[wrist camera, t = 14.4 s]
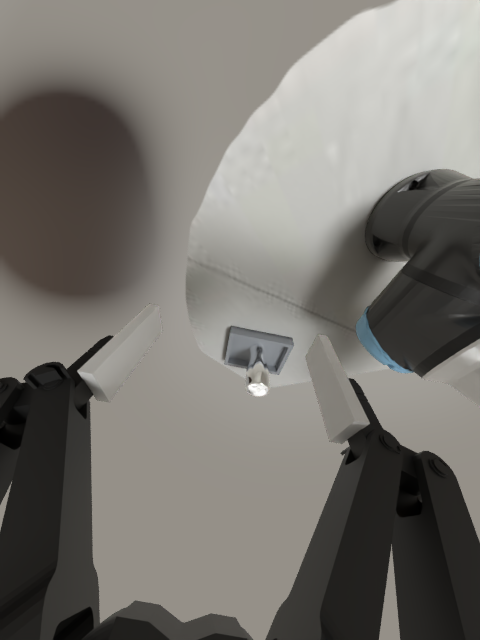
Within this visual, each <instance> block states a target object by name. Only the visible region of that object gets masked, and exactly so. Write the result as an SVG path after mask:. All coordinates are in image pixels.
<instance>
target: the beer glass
mask: <svg viewBox="0 0 480 640" xmlns="http://www.w3.org/2000/svg"><path fill="white" fill-rule="evenodd" d="M249 354H250V360H249V363H248V367H247V371H246V389H245V390H246V392H247V393H248V394H249V395H251V396H254V397H262V396H266V395H267V394H268V393H269V391H270V375H269V369H268V365H267V361H266V354H267V349H266V347H265V346H263V345H261V344H255V345H252V346H251V347H250V349H249Z"/></svg>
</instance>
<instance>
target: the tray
mask: <svg viewBox="0 0 480 640" xmlns="http://www.w3.org/2000/svg"><path fill="white" fill-rule="evenodd" d="M255 344H261V345H263V346H265V347H266V349H267V354H266V361H267V365H268V369H269V373H271V374H277V375H279V374H280V372H281V370H282V368H283V366H284V364H285V362H286V360H287V358H288V356H289V354H290V352H291V350H292V348H293V346H294V344H293V340H292V338H289V337H284V336H279V335H274V334H269V333H264V332H259V331H254V330H249V329H244V328H239V327H234V326H231V330H230V335H229V341H228V346H227V352H226V357H225V363H224V364H225V365H230V366H235V367H241V368H246V369H247V367H248V363H249V360H250V354H249V349H250V347H251V346H252V345H255Z"/></svg>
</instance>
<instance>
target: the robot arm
mask: <svg viewBox="0 0 480 640" xmlns="http://www.w3.org/2000/svg"><path fill="white" fill-rule="evenodd" d="M365 238H366V244H367V246H368V248H369V250H370V251H371V252H372V253H373V254H374V255H376V256H377V257H379V258H382V259H384V260H387V261H393V262H403V261H408V262H407V263H406V265H405V266H404V267H403V268H402V269H401V270H400V271H399V272H398V274H397V275H396V276H395V277H394V278H393V280H392V281H391V282H390V283H389V284H388V285H387V287H386V288H385V289H384V290H383V291H382V292H381V293H380V295H379V296H378V297H377V298H376V299H375V300H374V301H373V303H372V304H371V305H370V306H368V307H367V308H366V309H365V312H364V314H363V315H362V316H361V318H360V319H359V320H358V322H357V324H356V334H357V336H358V339H359V340H360V342H361V344H362V345H363V346H364V347H365V349H366V350H367V351H368V352H369V353H370V354H371V355H372V356H373V357H374V358H375V359H377V360H378V361H379V362H381V363H382V364H383V365H388V367H389V368H390V369H392V370H394V371H397V372H400V373H413V372H415V373H416V374H418V375H419V376H420V377H421V378H423V379H424V380H428V381H435V382H442V383H445V384H448V385H450V386H451V387H453V388H454V389H455V390H457V391H458V392H459V393H461V394H462V395H463V396H465V397H466V398H467V399H469V400H470V401H471V402H473V403H474V404H475V405H477V406H478V407H479V408H480V178H479V179H473V178H470V177H468V176H466V175H463V174H461V173H459V172H457V171H454V170H449V169H437V170H431V171H425V172H421V173H418V174H415V175H413V176H410V177H408V178H407V179H405V180H403V181H401V182H400V183H398V184H397V185H396V186H394V187H393V188H392V189H391V190H390V191H389V192H388V193H387V194H386V195H385V196H384V197H383V198H382V199H381V200H380V201H379V203H378V204H377V205H376V207H375V208H374V210H373V212H372V214H371V216H370V218H369V220H368V223H367V227H366V233H365ZM162 331H163V329H162V323H161V316H160V310H159V305H156V304H150V303H149V304H148V305H147V306H146V307H145V308H144V309H143V310H142V311H141V312H140V313H139V314H138V315H137V316H136V317H134V318H133V319H132V320H131V321H130V322H129V323H128V324H127V325H126V326H125V327H124V328H123V329H122V330H120V331H119V332H118V333H117V334H116V335H115V336H107V337H105V338H103V339H101V340H100V341H98V342H97V343H96V344H95V345H94V346H93V347H92V348H90V349H89V350H88V352H86V353H85V354H84V355H82V356H81V357H80V358H79V359H78V360H77V361H76V362H74V363H73V364H72V365H71V366H70V367H69V368H68V369H66V368H65V367H64V366H63V364H61V363H59V362H50V363H45V364H43V365H40V366H38V367H36V368H34V369H32V370H31V371H30V372H29V373H27V374H26V376H25V377H24V380H25V381H26V383H20V382H19V381H18V380H17V379H15V378H12V377H8V378H2V379H0V504H1V502H2V500H3V498H4V496H5V494H6V492H7V490H8V488H9V486H10V484H11V482H12V484H11V489H10V493H9V497H8V501H7V505H6V510H5V514H4V518H3V522H2V527H1V531H0V640H253V639H252V638H251V636H250V635H249V634H248V633H247V632H246V631H245V630H244V629H243V628H242V627H241V626H240V625H239V623H238V621H237V619H236V618H233V617H227V616H222V615H217V614H209V615H206V616H203V617H200V618H197V619H194V620H191V621H189V622H185V623H183V622H181V621H179V620H178V619H177V618H176V617H174V616H173V615H172V614H171V613H169V612H168V611H167V610H166V609H164V608H163V607H162V606H161V605H157V604H152V603H146V602H140V601H134V602H133V603H132V604H131V605H130V606H128V607H127V608H123V609H121V610H120V611H118V612H116V613H114V614H112V615H111V616H110V617H108V618H107V619H106V620H104V621H103V622H102V623H100V617H99V586H98V577H97V572H96V570H95V568H94V565H93V557H92V501H91V500H92V495H91V436H90V435H91V434H90V433H91V432H90V402H89V399H90V398H91V397H92V396H93V395H94V397H95V398H96V400H99V401H105V402H110V401H111V400H112V399H113V397H114V396H115V394H116V393H117V392H118V391H119V389H120V388H121V387H122V385H123V384H124V383H125V381H126V380H127V379H128V377H129V376H130V374H131V373H132V372H133V370H134V369H135V368H136V366H137V365H138V364H139V362H140V361H141V360H142V358H143V357H144V356H145V354H146V353H147V351H148V350H149V349H150V348H151V346H152V345H153V344H154V342H155V341H156V339H157V338H158V337H159V335H160V334H161V333H162ZM305 357H306V361H307V364H308V368H309V371H310V375H311V378H312V382H313V386H314V389H315V393H316V396H317V399H318V403H319V406H320V410H321V414H322V417H323V421H324V424H325V428H326V432H327V435H328V439H329V442H335V443H341V444H342V443H344V442H345V441H346V440H348V442H349V445H350V446H349V447H348V448H346V449H345V450H343V451H342V452H341V454H342V455H343V454H345V456H344V459H343V461H342V463H341V466H340V468H339V471H338V474H337V476H336V478H335V481H334V484H333V486H332V489H331V492H330V494H329V496H328V499H327V501H326V504H325V506H324V509H323V511H322V514H321V517H320V519H319V522H318V524H317V527H316V529H315V532H314V534H313V537H312V539H311V542H310V544H309V547H308V549H307V552H306V554H305V557H304V559H303V562H302V564H301V567H300V570H299V572H298V574H297V577H296V580H295V582H294V585H293V587H292V590H291V592H290V594H289V596H288V598H287V599H286V600H285V601H284V602H283V604H282V605H281V607H280V608H279V610H278V611H277V614H276V616H275V618H274V620H273V623H272V625H271V628H270V630H269V633H268V635H267V638H266V640H379V632H380V626H381V618H382V610H383V603H384V596H385V588H386V581H387V573H388V566H389V557H390V551H391V544H392V551H393V562H394V573H395V584H396V596H397V607H398V618H399V629H400V639H401V640H480V542H479V539H478V537H477V535H476V531H475V528H474V526H473V523H472V520H471V517H470V514H469V512H468V509H467V506H466V503H465V501H464V498H463V495H462V492H461V489H460V487H459V484H458V481H457V479H456V476H455V475H454V473H453V471H452V470H451V469H450V467H449V466H448V465H447V464H446V463H445V462H444V461H443V460H442V459H441V458H440V457H438V456H437V455H435V454H434V453H431V452H429V451H422V452H420V453H416V452H414V451H412V450H410V449H408V448H406V447H404V446H402V445H400V444H399V442H398V441H397V440H396V438H395V437H394V436H393V435H391V434H390V433H389V432H387V431H386V430H383V428H382V426H381V425H380V423H379V421H378V419H377V417H376V415H375V414H374V411H373V409H372V408H371V406H370V404H369V403H368V400H367V398H366V397H365V396H364V393H363V391H362V389H361V387H360V386H359V385H358V383H356V381H355V380H354V379H350V378H348V377H347V375H346V373H345V371H344V369H343V367H342V365H341V363H340V361H339V359H338V357H337V355H336V353H335V350H334V348H333V346H332V344H331V342H330V340H329V338H328V336H326V335H320V334H318V335H317V337H316V339H315V340H314V342H313V344H312V346H311V348H310V349H309V351H308V353H307V355H306V356H305Z"/></svg>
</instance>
